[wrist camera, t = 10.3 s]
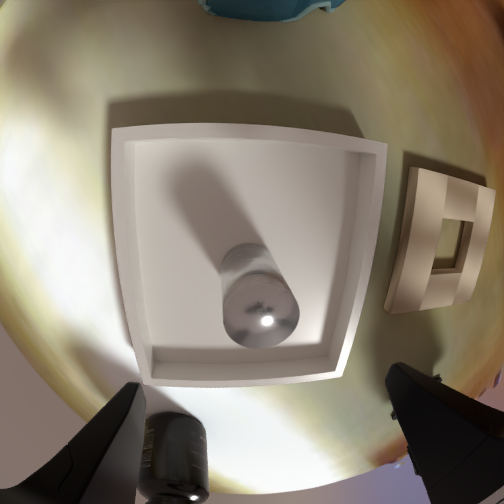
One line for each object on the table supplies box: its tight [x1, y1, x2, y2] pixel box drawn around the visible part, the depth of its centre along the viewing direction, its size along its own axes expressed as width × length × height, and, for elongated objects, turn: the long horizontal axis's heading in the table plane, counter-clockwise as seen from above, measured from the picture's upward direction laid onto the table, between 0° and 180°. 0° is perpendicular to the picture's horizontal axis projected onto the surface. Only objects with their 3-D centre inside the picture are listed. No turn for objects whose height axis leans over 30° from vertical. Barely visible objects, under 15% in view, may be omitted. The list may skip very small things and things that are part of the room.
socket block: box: [383, 166, 496, 315], centre depth 20 cm, size 12×12×1 cm
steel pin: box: [221, 243, 300, 349], centre depth 15 cm, size 4×4×6 cm
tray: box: [111, 123, 387, 388], centre depth 17 cm, size 18×16×2 cm
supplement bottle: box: [137, 412, 209, 504], centre depth 18 cm, size 7×7×12 cm
